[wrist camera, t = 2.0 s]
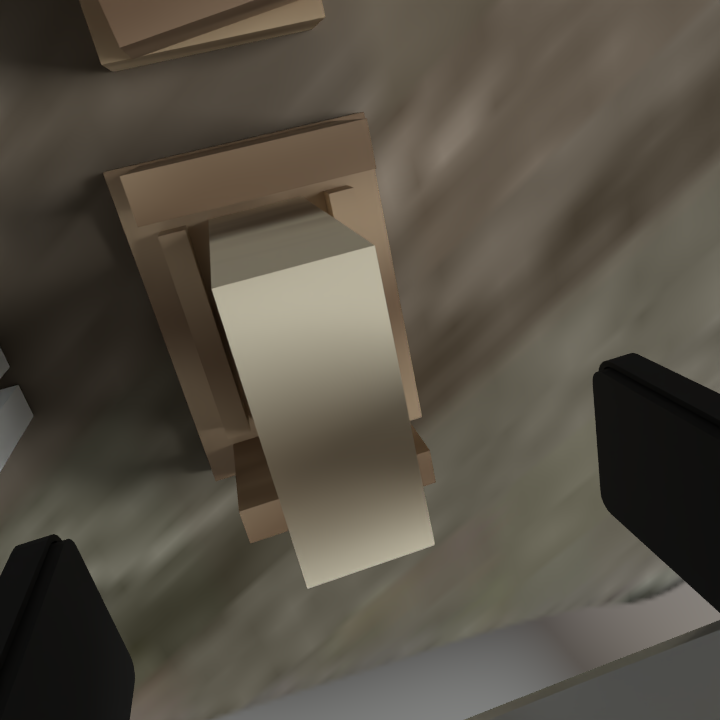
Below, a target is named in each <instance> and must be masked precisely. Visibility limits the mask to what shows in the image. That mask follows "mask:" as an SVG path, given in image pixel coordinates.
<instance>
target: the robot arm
mask: <svg viewBox="0 0 720 720" xmlns="http://www.w3.org/2000/svg"><path fill="white" fill-rule="evenodd" d="M593 394H594V407H595V421H596V435H597V449H598V462H599V476H600V490H601V497H602V500H603V503H604V505H605V507H606V508H607V510H608V511H609V512H610V513H611V514H612V515H613V516H614V517H615V518H616V519H617V520H618V521H619V522H621V523H622V524H623V525H624V526H625V527H626V528H627V529H628V530H629V531H630V532H632V533H633V534H634V535H635V536H636V537H637V538H638V539H639V540H640V541H641V542H643V543H644V544H645V545H646V546H647V547H648V548H649V549H650V550H651V551H652V552H654V553H655V554H656V555H657V556H658V557H659V558H660V559H661V560H662V561H663V562H665V563H666V564H667V565H668V566H669V567H670V568H671V569H672V570H673V571H674V572H676V573H677V574H678V575H679V576H680V577H681V578H682V579H683V580H684V581H685V582H687V583H688V584H689V585H690V586H691V587H692V588H693V589H694V590H695V591H696V592H698V593H699V594H700V595H701V596H702V597H703V598H704V599H705V600H706V601H708V602H709V603H710V604H711V605H712V606H713V607H714V608H715V609H716V610H717V611H718V612H719V613H720V394H719V393H717V392H715V391H713V390H711V389H709V388H707V387H704V386H702V385H700V384H698V383H696V382H694V381H692V380H690V379H688V378H686V377H684V376H682V375H680V374H678V373H675V372H673V371H671V370H669V369H667V368H665V367H663V366H661V365H659V364H657V363H655V362H653V361H651V360H649V359H646V358H644V357H642V356H640V355H638V354H635V353H630V354H627V355H623V356H620V357H617V358H614V359H611V360H607V361H604V362H602V364H601V365H600V367H599V372H596V373H595V374H594V376H593ZM134 683H135V672H134V666H133V662H132V659H131V657H130V655H129V652H128V650H127V648H126V646H125V644H124V642H123V640H122V638H121V636H120V634H119V632H118V630H117V628H116V626H115V624H114V622H113V620H112V618H111V616H110V614H109V612H108V610H107V608H106V606H105V604H104V602H103V599H102V597H101V595H100V593H99V591H98V589H97V587H96V585H95V583H94V581H93V579H92V577H91V575H90V573H89V571H88V569H87V567H86V565H85V563H84V561H83V559H82V557H81V555H80V553H79V551H78V549H77V546H76V545H75V543H74V542H73V541H72V540H71V539H66V540H63V541H62V540H61V538H59V537H58V536H57V535H55V534H53V535H49V536H46V537H43V538H40V539H37V540H33V541H30V542H27V543H24V544H21V545H18V546H16V547H15V548H14V549H13V551H12V553H11V555H10V557H9V559H8V561H7V563H6V565H5V567H4V569H3V571H2V574H1V576H0V720H130V713H131V705H132V698H133V691H134ZM465 720H720V620H719V621H716V622H714V623H711V624H709V625H706V626H703V627H701V628H698V629H696V630H693V631H690V632H688V633H685V634H683V635H680V636H678V637H675V638H672V639H670V640H667V641H665V642H662V643H660V644H657V645H654V646H652V647H649V648H647V649H644V650H641V651H639V652H636V653H634V654H631V655H628V656H626V657H623V658H621V659H618V660H615V661H613V662H610V663H608V664H605V665H603V666H600V667H597V668H595V669H592V670H590V671H587V672H585V673H582V674H580V675H577V676H575V677H572V678H569V679H567V680H564V681H562V682H559V683H557V684H554V685H552V686H549V687H546V688H544V689H541V690H539V691H536V692H534V693H531V694H529V695H526V696H524V697H521V698H518V699H516V700H513V701H511V702H508V703H506V704H503V705H501V706H498V707H496V708H493V709H490V710H488V711H485V712H483V713H480V714H478V715H475V716H473V717H470V718H468V719H465Z"/></svg>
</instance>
